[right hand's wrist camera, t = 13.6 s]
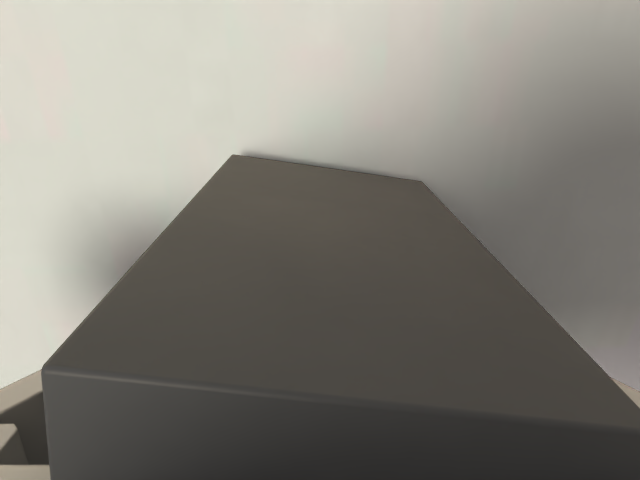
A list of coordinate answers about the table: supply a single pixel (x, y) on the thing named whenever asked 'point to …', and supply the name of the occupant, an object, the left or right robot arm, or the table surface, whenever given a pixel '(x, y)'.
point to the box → (327, 349)
